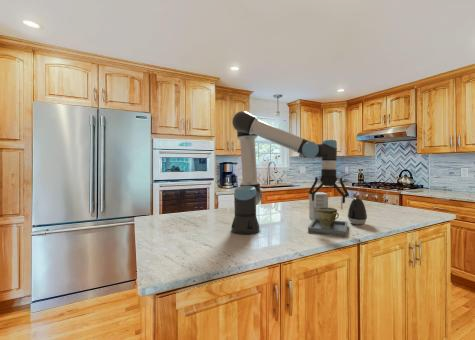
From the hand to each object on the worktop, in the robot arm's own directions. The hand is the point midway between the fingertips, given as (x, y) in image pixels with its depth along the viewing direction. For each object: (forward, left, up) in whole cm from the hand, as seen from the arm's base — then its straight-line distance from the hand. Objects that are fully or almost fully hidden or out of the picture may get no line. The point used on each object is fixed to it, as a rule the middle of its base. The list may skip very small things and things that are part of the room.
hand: (327, 208), depth 131 cm
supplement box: (-8, +20, -12) cm, 24 cm away
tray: (0, 0, -12) cm, 12 cm away
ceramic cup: (+1, 0, -11) cm, 11 cm away
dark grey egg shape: (+14, +19, -12) cm, 27 cm away
